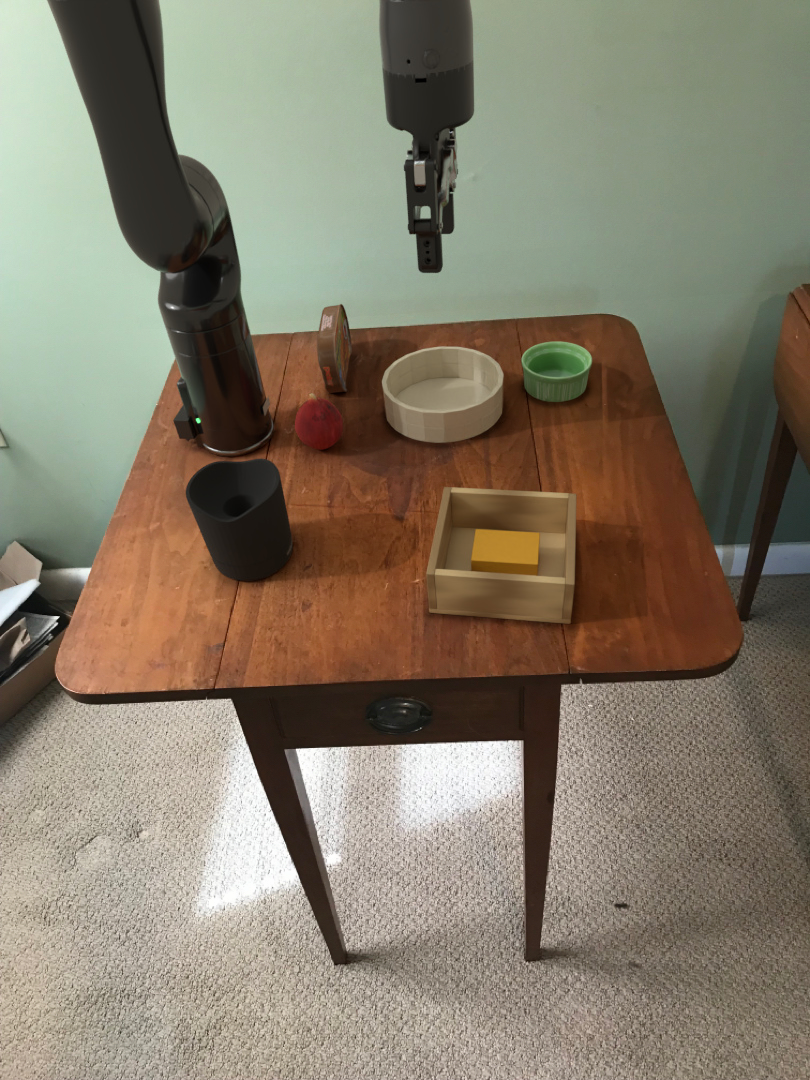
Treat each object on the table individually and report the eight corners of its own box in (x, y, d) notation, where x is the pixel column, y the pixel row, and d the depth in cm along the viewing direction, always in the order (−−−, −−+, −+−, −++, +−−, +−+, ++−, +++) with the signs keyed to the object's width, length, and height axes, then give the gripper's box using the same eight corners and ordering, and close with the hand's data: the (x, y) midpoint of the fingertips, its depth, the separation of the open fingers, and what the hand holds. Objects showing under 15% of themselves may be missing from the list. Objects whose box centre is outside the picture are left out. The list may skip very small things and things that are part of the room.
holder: (429, 612, 76) (425, 573, 72) (446, 525, 84) (444, 486, 80) (570, 624, 73) (574, 584, 69) (572, 533, 82) (576, 493, 78)
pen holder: (250, 599, 79) (226, 528, 72) (193, 560, 83) (166, 490, 77) (315, 547, 83) (299, 476, 77) (258, 513, 88) (238, 443, 81)
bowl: (375, 443, 96) (371, 410, 93) (397, 377, 107) (393, 345, 103) (497, 448, 93) (497, 414, 90) (507, 380, 104) (507, 347, 101)
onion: (353, 438, 97) (345, 383, 92) (336, 465, 93) (326, 411, 88) (311, 432, 99) (301, 378, 93) (293, 459, 95) (280, 404, 90)
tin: (346, 404, 103) (337, 348, 97) (323, 405, 103) (312, 349, 97) (354, 346, 114) (346, 292, 108) (333, 347, 114) (324, 294, 108)
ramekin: (569, 363, 106) (572, 335, 103) (602, 397, 99) (605, 367, 96) (509, 379, 104) (510, 350, 101) (538, 414, 98) (540, 384, 95)
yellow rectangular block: (471, 581, 77) (470, 560, 75) (475, 549, 80) (475, 528, 78) (536, 585, 76) (538, 564, 74) (538, 553, 79) (540, 532, 77)
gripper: (397, 39, 68) (411, 222, 80) (364, 83, 58) (385, 285, 70) (482, 34, 67) (483, 221, 78) (462, 79, 57) (467, 285, 68)
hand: (437, 251), depth 74 cm, fingers open, 8 cm apart
